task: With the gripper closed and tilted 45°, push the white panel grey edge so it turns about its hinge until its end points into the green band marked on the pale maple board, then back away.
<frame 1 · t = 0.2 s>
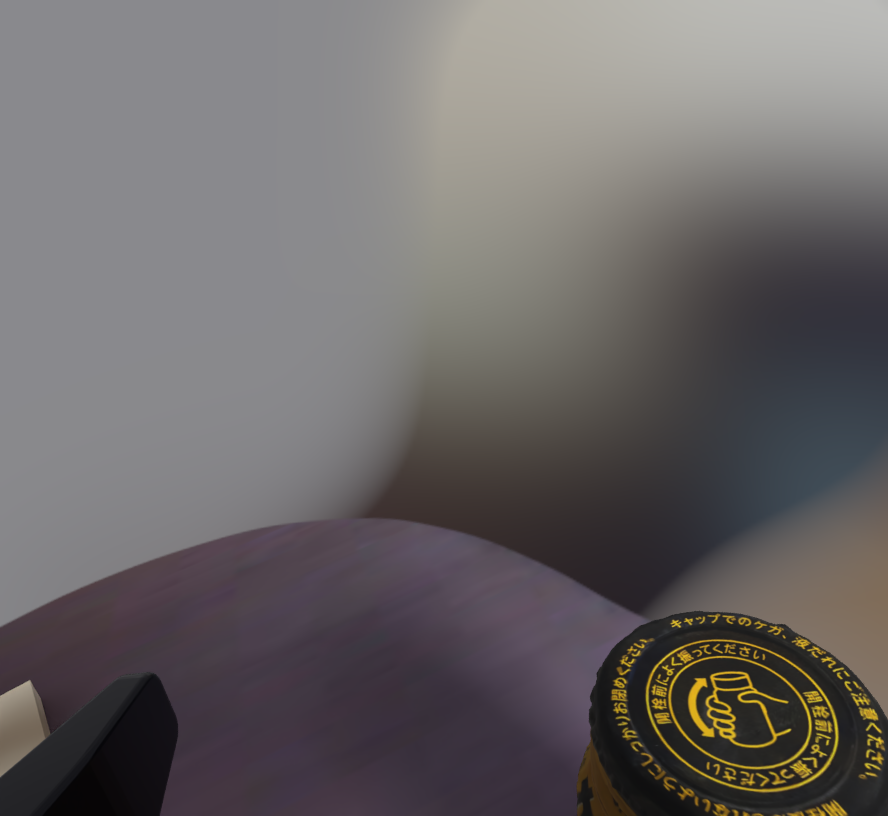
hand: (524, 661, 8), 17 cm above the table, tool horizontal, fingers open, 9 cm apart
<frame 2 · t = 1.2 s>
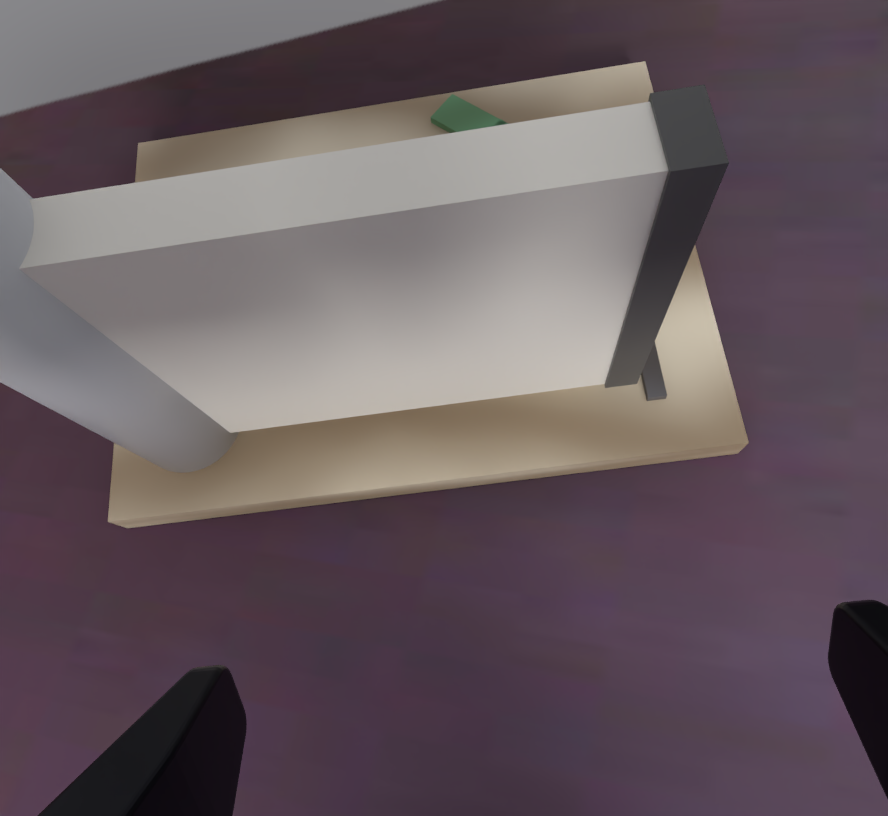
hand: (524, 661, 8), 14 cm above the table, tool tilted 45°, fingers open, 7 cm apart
white panel grey edge: (331, 309, 17), point 8 cm above the table, hinge at 0.0°
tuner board: (405, 288, 26), on the table
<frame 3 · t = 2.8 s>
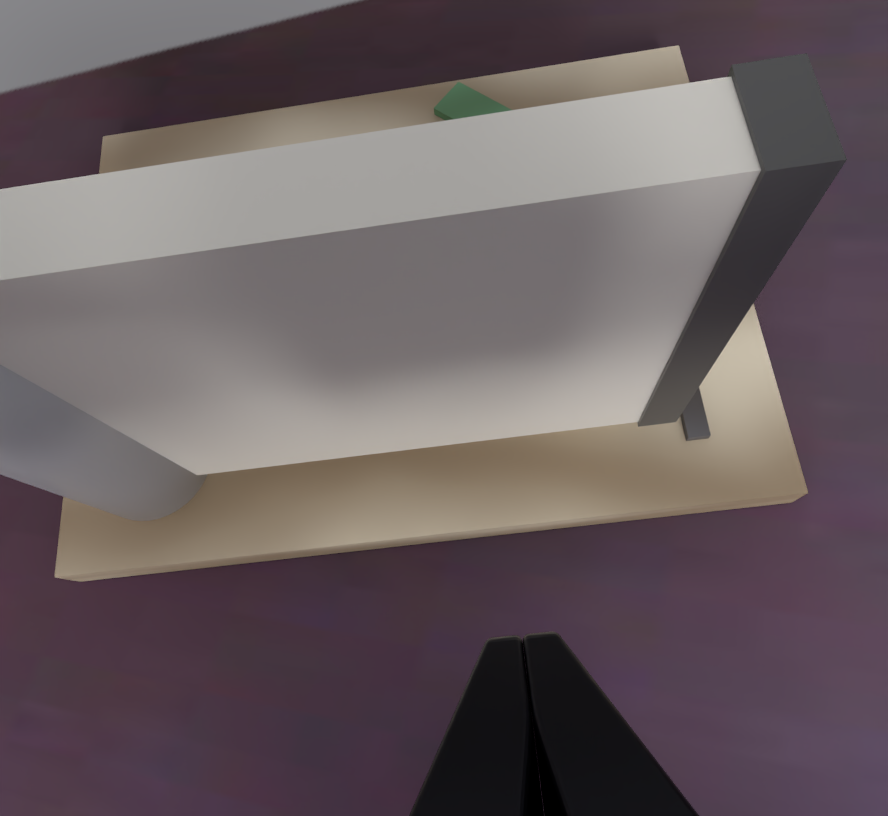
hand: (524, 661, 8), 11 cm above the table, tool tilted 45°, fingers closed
white panel grey edge: (310, 340, 14), point 8 cm above the table, hinge at 0.0°
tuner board: (403, 303, 23), on the table
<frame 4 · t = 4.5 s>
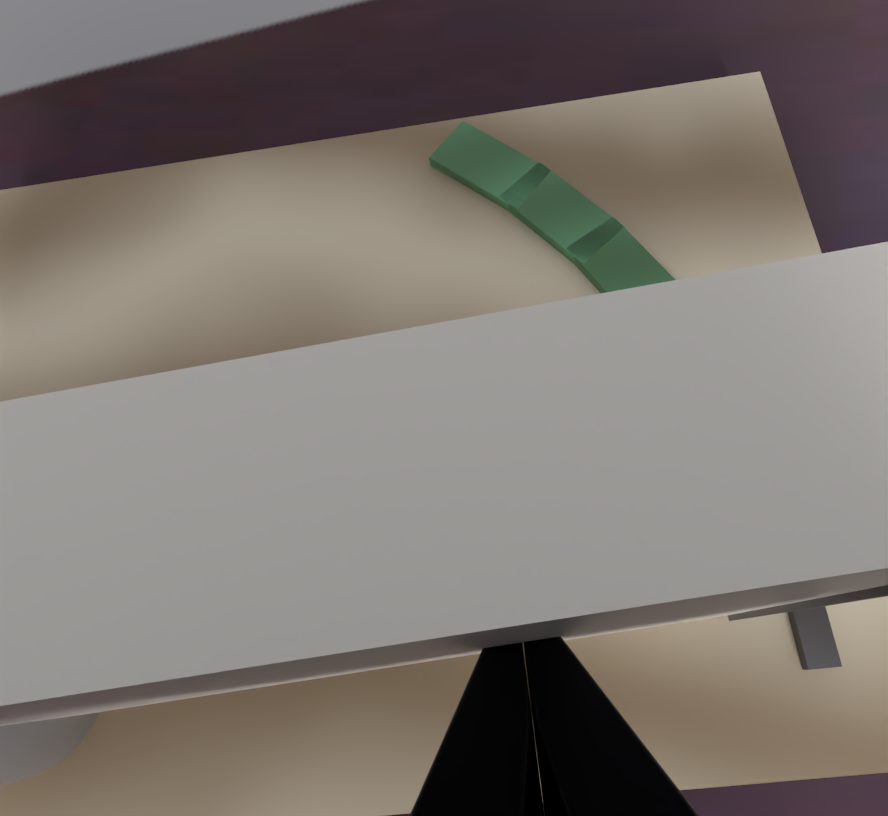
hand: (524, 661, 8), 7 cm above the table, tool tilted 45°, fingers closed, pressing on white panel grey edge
white panel grey edge: (204, 615, 8), point 8 cm above the table, hinge at 2.8°, touching gripper
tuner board: (388, 428, 17), on the table
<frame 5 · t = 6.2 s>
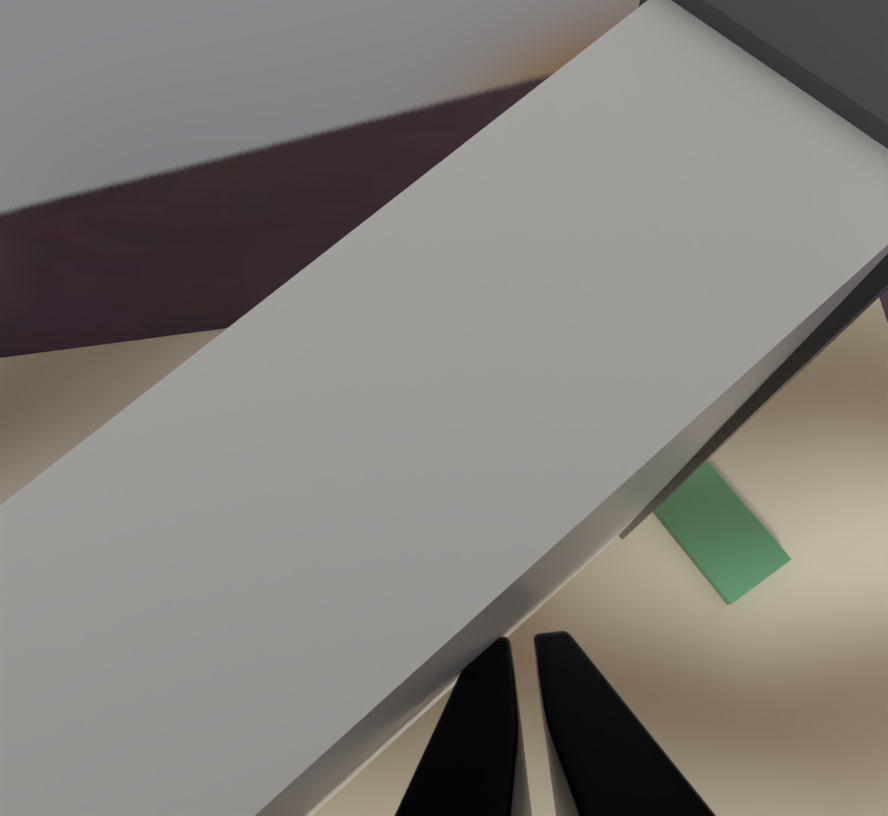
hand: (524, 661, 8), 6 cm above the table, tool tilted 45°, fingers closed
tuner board: (414, 684, 14), on the table
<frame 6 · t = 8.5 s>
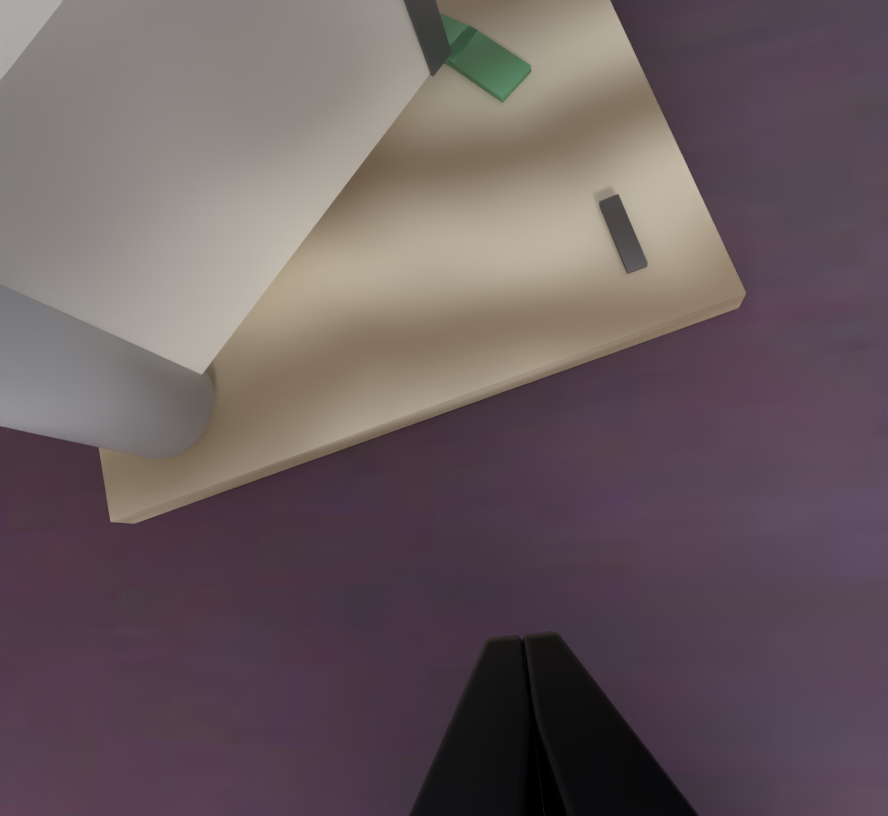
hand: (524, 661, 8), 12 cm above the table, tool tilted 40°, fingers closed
white panel grey edge: (174, 141, 17), point 8 cm above the table, hinge at 35.2°
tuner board: (353, 215, 24), on the table
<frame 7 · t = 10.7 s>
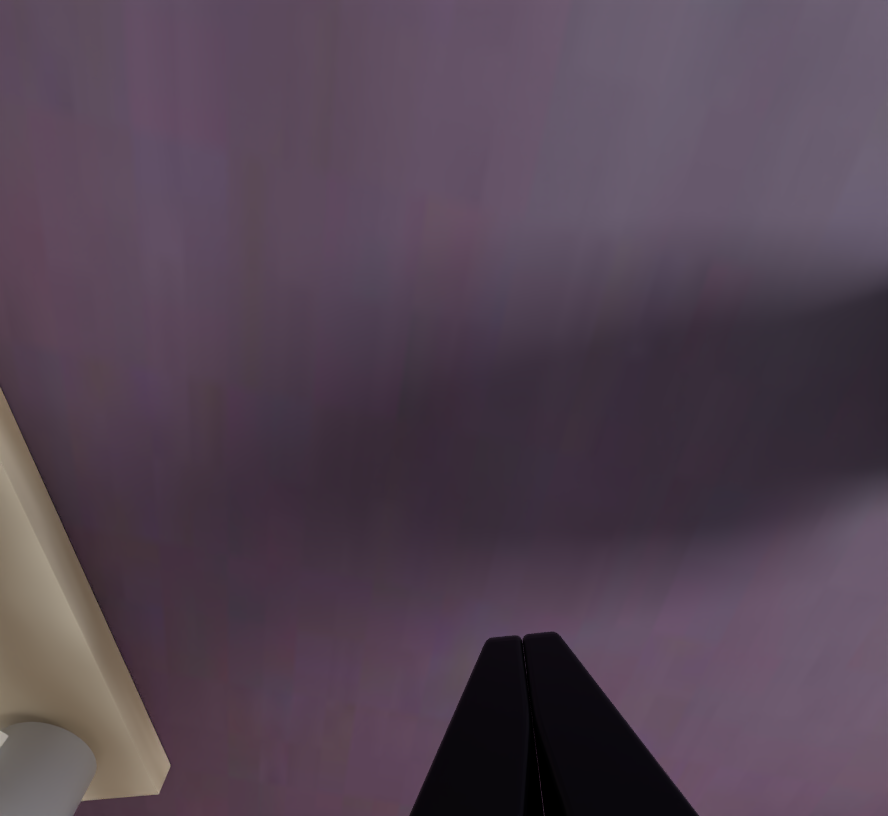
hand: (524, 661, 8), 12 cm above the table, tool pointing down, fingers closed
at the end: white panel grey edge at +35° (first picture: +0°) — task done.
